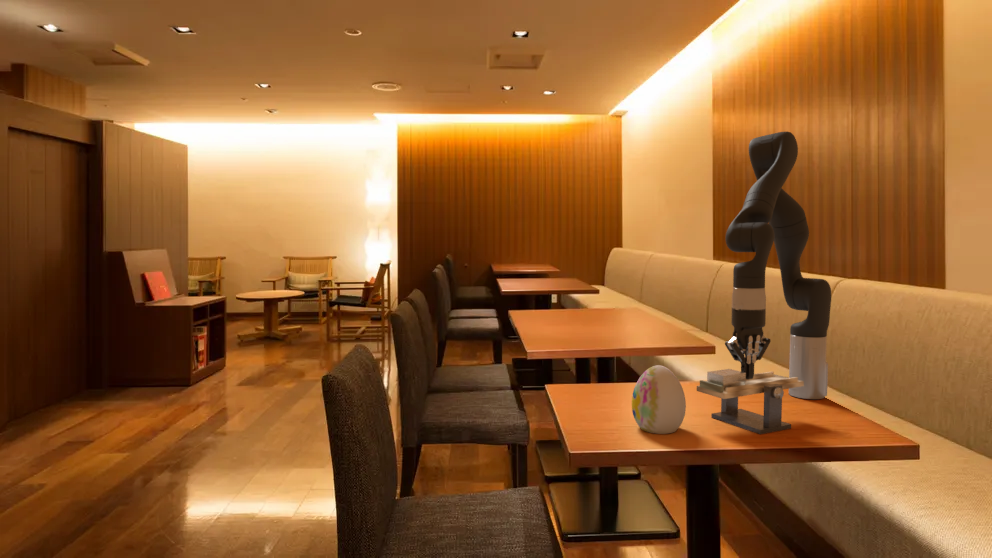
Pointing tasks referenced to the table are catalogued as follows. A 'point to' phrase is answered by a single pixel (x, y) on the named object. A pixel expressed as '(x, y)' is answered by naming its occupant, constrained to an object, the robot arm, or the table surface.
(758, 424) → the stand
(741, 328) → the robot arm
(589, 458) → the table surface
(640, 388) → the decorative egg
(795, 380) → the beam
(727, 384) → the rider
